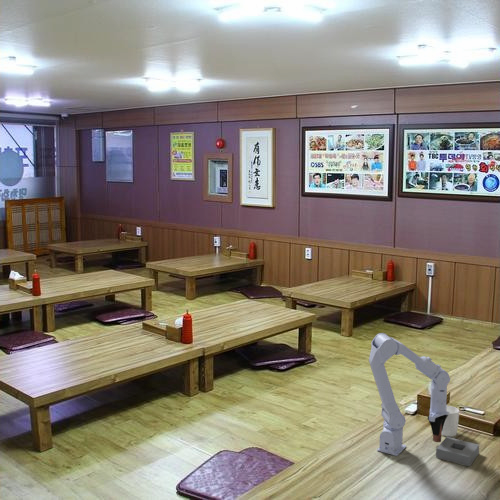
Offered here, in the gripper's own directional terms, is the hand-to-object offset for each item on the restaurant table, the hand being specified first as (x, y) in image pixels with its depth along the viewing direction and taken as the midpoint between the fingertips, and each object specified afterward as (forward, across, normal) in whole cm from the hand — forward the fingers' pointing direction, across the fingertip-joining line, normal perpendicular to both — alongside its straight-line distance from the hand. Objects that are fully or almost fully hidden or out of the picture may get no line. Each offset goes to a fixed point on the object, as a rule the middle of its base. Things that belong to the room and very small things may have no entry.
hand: (437, 433), depth 231 cm
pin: (+3, 0, 0) cm, 3 cm away
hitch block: (+5, -4, -9) cm, 11 cm away
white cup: (+5, +13, 0) cm, 14 cm away
